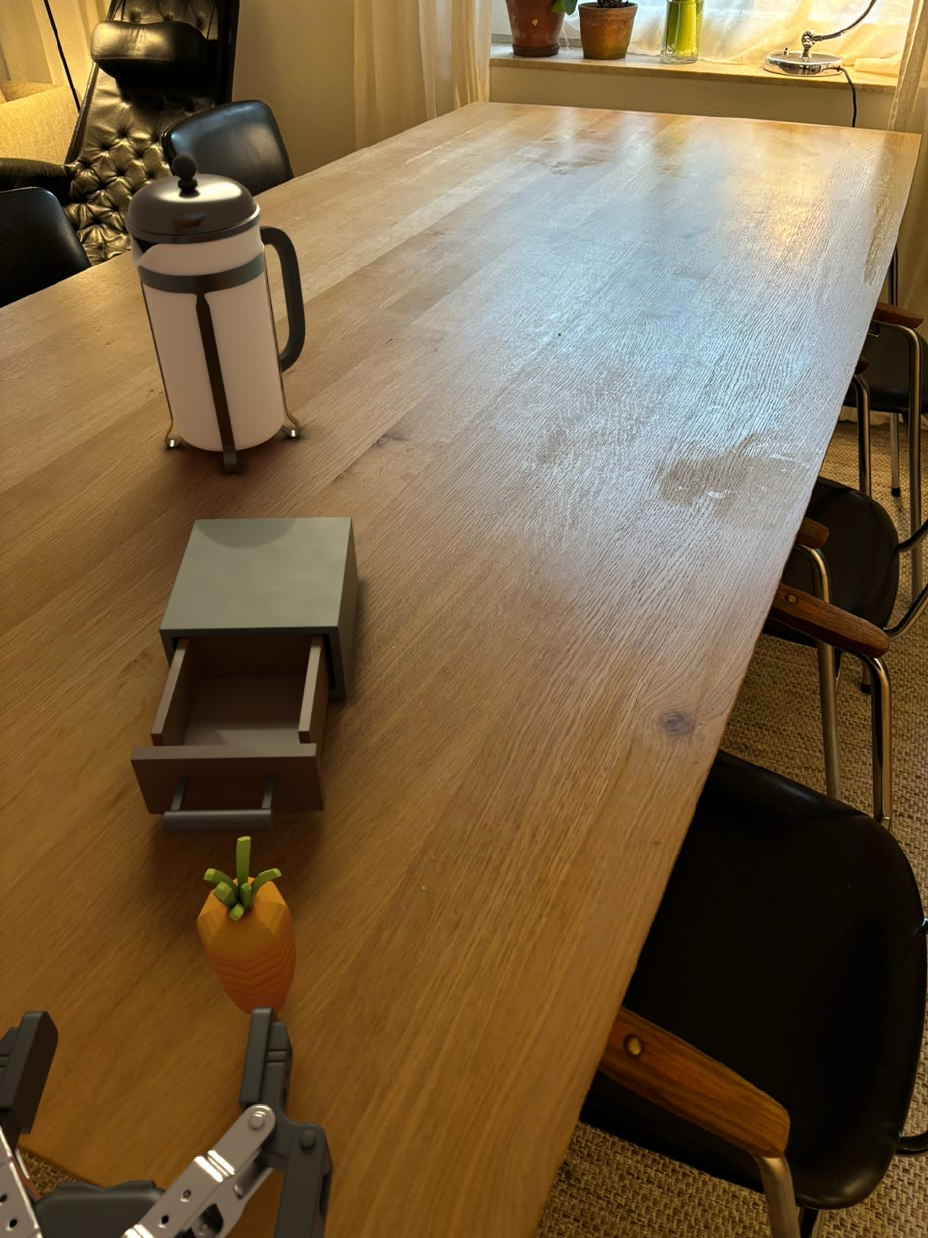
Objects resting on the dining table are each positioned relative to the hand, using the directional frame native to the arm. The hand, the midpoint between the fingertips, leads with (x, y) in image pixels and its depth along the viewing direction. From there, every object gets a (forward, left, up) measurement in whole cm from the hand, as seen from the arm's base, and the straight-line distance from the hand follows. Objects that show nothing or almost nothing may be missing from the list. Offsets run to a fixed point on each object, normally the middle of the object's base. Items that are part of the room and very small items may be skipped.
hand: (154, 1018), depth 38 cm
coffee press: (+17, +79, -21) cm, 84 cm away
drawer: (+7, +30, -20) cm, 36 cm away
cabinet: (+12, +44, -21) cm, 50 cm away
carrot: (+4, +10, -21) cm, 24 cm away
